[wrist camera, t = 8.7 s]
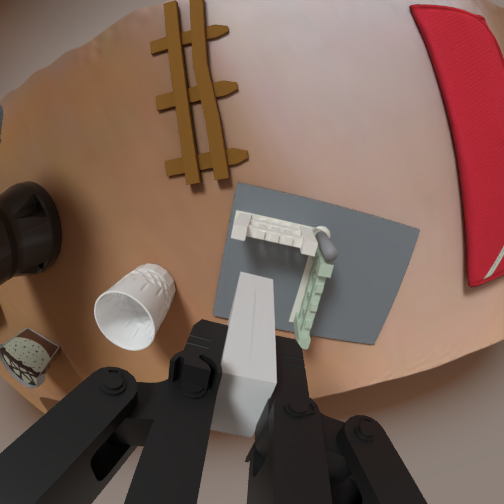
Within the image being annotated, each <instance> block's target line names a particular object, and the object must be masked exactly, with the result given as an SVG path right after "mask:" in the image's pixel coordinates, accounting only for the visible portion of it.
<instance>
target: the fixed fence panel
mask: <svg viewBox="0 0 504 504" xmlns="http://www.w3.org/2000/svg"><path fill="white" fill-rule="evenodd" d="M251 216H252V214H248V213H243V212H240V213H239V215H238V217H237V219H236V220H235V222H234V224H233V228H232V234H231V238H233V239H238V240H242V241H245V238H246V236H248V237H253V238H257V239H262V240H266V241H271V242H275V243H280V244H284V245H289V246H293V247H298V248H300V251H301V254H306V255H310V256H315V253H316V249H317V246H318V242H317V240H316V238H315V236H314V234H313V232H312V230H311V228H310V227H305V226H301V225H299V227H298V229H297V228H292V227H291V226H290V225H286V224H284V225H279V224H278V223H277V222H271V223H270V222H266V220H263V219H259V220H257V219H252V218H251Z"/></svg>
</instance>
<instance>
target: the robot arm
mask: <svg viewBox="0 0 504 504" xmlns="http://www.w3.org/2000/svg"><path fill="white" fill-rule="evenodd" d="M2 120H3V109H2V107H1V105H0V135H1V127H2ZM0 143H1V139H0ZM60 247H61V225H60V220H59V216H58V212H57V210H56V207H55V205H54V203H53V201H52V199H51V197H50V196H49V194H48V193H47V192H46V191H45V189H44V188H42V187H41V186H40V185H38V184H36V183H34V182H29V181H28V182H22V183H18V184H15V185H13V186H11V187H10V188H8V189H7V190H6V191H4V192H3V193H2V194H1V195H0V285H1V284H3V283H4V282H6V281H7V280H9V279H10V278H12V277H17V276H25V275H33V274H38V273H41V272H43V271H44V270H46V269H47V268H49V267H50V266H52V265H53V264H54V262H55V261H56V259H57V257H58V255H59V251H60ZM304 367H305V365H304V360H303V352H302V348H301V347H300V345H299V344H298V342H297V341H296V339H291V338H286V337H281V336H276V335H275V315H274V291H273V279H269V278H265V277H261V276H257V275H253V274H249V273H245V272H240V276H239V280H238V284H237V288H236V292H235V296H234V300H233V304H232V308H231V312H230V316H229V320H228V324H227V325H223V324H219V323H215V322H211V321H207V320H203V319H202V320H200V321H199V322H198V323H196V324H195V325H194V326H193V328H192V331H191V333H190V336H189V338H188V341H187V344H186V346H185V349H184V351H181V352H179V353H177V354H175V355H174V356H173V357H172V359H171V360H170V368H169V378H168V379H167V380H165V381H162V382H158V383H144V382H136V380H135V378H134V376H133V375H131V374H130V373H129V372H128V371H126V370H123V369H121V368H117V367H105V368H100V369H99V370H97V371H95V372H93V373H92V374H91V375H90V376H89V377H88V378H86V379H85V380H84V381H83V382H82V383H81V384H79V385H78V386H77V387H76V388H75V389H74V390H72V391H71V392H70V393H69V394H68V395H67V396H66V397H64V398H63V399H62V400H61V401H60V402H59V403H57V404H56V405H55V406H54V407H53V408H52V409H50V410H49V411H48V412H47V413H46V414H45V415H44V416H42V417H41V418H40V419H39V420H38V421H37V422H36V423H35V424H33V425H32V426H31V427H30V428H29V429H28V430H26V431H25V432H24V433H23V434H22V435H21V436H20V437H18V438H17V439H16V440H15V441H14V442H13V443H12V444H11V445H9V446H8V447H7V448H6V449H5V450H4V451H3V452H1V453H0V504H91V503H92V502H93V501H94V500H95V499H96V497H97V496H98V495H99V494H100V493H101V491H102V490H103V489H104V488H105V486H106V485H107V484H108V483H109V481H110V480H111V479H112V478H113V476H114V475H115V474H116V473H117V471H118V470H119V469H120V468H121V466H122V465H123V464H124V463H125V461H126V460H127V459H128V457H129V456H130V455H131V453H132V452H133V451H134V450H135V448H136V447H137V446H144V448H143V451H142V453H141V456H140V459H139V462H138V465H137V468H136V470H135V473H134V476H133V479H132V482H131V485H130V488H129V491H128V493H127V496H126V499H125V503H124V504H197V498H198V493H199V488H200V482H201V477H202V471H203V466H204V461H205V455H206V450H207V444H208V439H209V434H210V430H215V431H220V432H225V433H230V434H236V435H240V436H246V437H252V436H253V434H254V431H255V442H254V444H253V446H252V448H251V450H250V451H249V453H248V455H247V457H246V460H245V462H249V460H250V467H249V481H248V494H247V495H248V496H247V504H427V502H426V500H425V499H424V497H423V495H422V493H421V492H420V490H419V488H418V487H417V485H416V484H415V481H414V480H413V478H412V476H411V475H410V473H409V471H408V470H407V468H406V466H405V464H404V463H403V461H402V459H401V458H400V456H399V455H398V453H397V451H396V449H395V448H394V446H393V444H392V442H391V441H390V439H389V437H388V436H387V434H386V432H385V431H384V429H383V428H382V427H381V425H380V424H379V423H378V422H377V421H375V420H374V419H372V418H370V417H367V416H364V415H356V416H353V417H350V418H349V419H348V421H346V423H344V422H341V421H339V420H336V419H332V418H330V417H327V416H325V415H323V414H322V413H320V411H319V409H318V406H317V404H316V403H315V402H314V401H313V400H312V399H311V398H309V392H308V385H307V379H306V372H305V368H304Z"/></svg>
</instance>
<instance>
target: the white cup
mask: <svg viewBox="0 0 504 504" xmlns="http://www.w3.org/2000/svg"><path fill="white" fill-rule="evenodd" d="M175 291H176V289H175V284H174V280H173V278H172V277H171V275H170V274H169V273H168V271H167V270H165V269H164V268H162V267H161V266H159V265H156V264H150V263H147V264H144V265H141V266H138V267H137V268H136V269H135V270H133V271H132V272H130V273H128V274H127V275H126V276H124V277H123V278H122V279H120V280H119V281H118V282H116V283H115V284H114V285H113V286H111V287H110V288H109V289H108V290H107V291H105V292H104V293H103V294H102V295H100V296H99V297H98V299H97V300H96V303H95V307H94V315H95V319H96V322H97V325H98V327H99V328H100V330H101V331H102V333H103V334H104V335H105V336H106V337H107V338H108V339H109V340H110V341H111V342H112V343H114V344H115V345H117V346H119V347H121V348H124V349H127V350H132V351H137V350H142V349H145V348H147V347H148V346H149V345H150V344H151V343H152V342H153V340H154V338H155V336H156V334H157V332H158V330H159V328H160V326H161V324H162V322H163V320H164V318H165V316H166V314H167V312H168V310H169V307H170V305H171V303H172V301H173V298H174V295H175Z"/></svg>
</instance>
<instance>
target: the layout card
mask: <svg viewBox="0 0 504 504" xmlns="http://www.w3.org/2000/svg"><path fill="white" fill-rule="evenodd" d="M240 212H243V213H248V214H252V216H251V218H252V219H257V220H259V219H263V220H266V222H270V223H271V222H277V223H278V224H279V225H284V224H286V225H290V226H291V227H292V228H297V229H298V227H299V225H301V226H305V227H310V228H311V230H312V232H313V234H314V236H315V238H316V234H317V233H318V232H319V231H324V232H325V233H326V234H327V236H328V237H329V239H330V240H331V242H332V243H333V245H334V247H335V248H336V250H337V251H338V257H337V258H336V259H335V260H334V261H332V263H333V264H334V267H333V271H332V274H331V278H328V277H326V280H325V284H324V288H323V292H322V294H321V297H320V301H319V304H318V308H317V312H316V314H315V317H314V320H313V324H312V327H311V329H310V335H313V336H319V337H325V338H331V339H338V340H344V341H351V342H358V343H365V344H373V345H374V344H375V341H376V339H377V337H378V335H379V333H380V331H381V329H382V327H383V325H384V322H385V320H386V318H387V316H388V313H389V311H390V309H391V307H392V304H393V302H394V299H395V297H396V295H397V292H398V290H399V287H400V285H401V282H402V280H403V277H404V274H405V272H406V269H407V266H408V264H409V261H410V258H411V255H412V252H413V250H414V247H415V244H416V241H417V238H418V234H419V231H420V230H419V229H417V228H414V227H411V226H407V225H404V224H401V223H398V222H394V221H391V220H388V219H384V218H381V217H377V216H374V215H370V214H367V213H363V212H360V211H356V210H353V209H349V208H345V207H341V206H338V205H334V204H330V203H326V202H322V201H318V200H314V199H310V198H306V197H302V196H298V195H294V194H289V193H285V192H281V191H276V190H272V189H267V188H263V187H258V186H254V185H249V184H244V183H239V182H238V183H237V187H236V192H235V197H234V202H233V207H232V212H231V217H230V223H229V228H228V233H227V238H226V244H225V249H224V254H223V260H222V265H221V271H220V276H219V282H218V288H217V293H216V299H215V305H214V311H213V316H218V317H222V318H227V319H229V316H230V312H231V308H232V304H233V300H234V296H235V292H236V288H237V284H238V280H239V276H240V272H245V273H249V274H253V275H257V276H261V277H265V278H269V279H273V291H274V315H275V329H279V330H285V331H290V332H294V322H293V321H294V317H295V314H296V312H297V313H299V311H300V308H301V303H302V300H303V297H304V293H305V288H306V285H307V282H308V279H309V275H310V274H309V273H310V269H311V267H312V263H313V261H312V258H311V256H310V255H306V254H301V251H300V248H298V247H293V246H289V245H284V244H280V243H275V242H271V241H266V240H262V239H257V238H253V237H248V236H246V238H245V241H242V240H238V239H233V238H231V234H232V228H233V224H234V222H235V220H236V219H237V217H238V215H239V213H240ZM318 246H319V244H318Z"/></svg>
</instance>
